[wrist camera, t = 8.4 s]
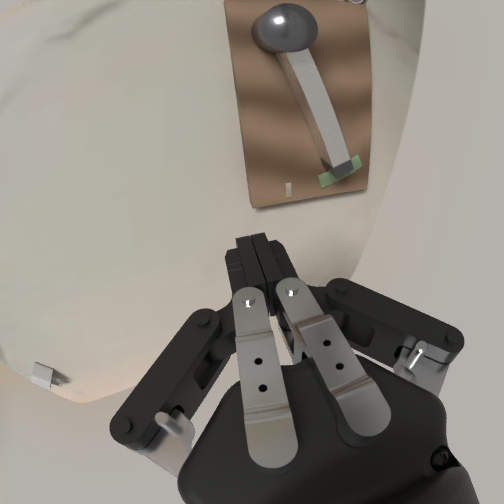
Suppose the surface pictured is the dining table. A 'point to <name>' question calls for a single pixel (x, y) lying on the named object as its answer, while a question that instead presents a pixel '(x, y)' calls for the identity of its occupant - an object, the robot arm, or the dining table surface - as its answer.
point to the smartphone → (354, 1)
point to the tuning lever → (304, 77)
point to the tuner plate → (288, 110)
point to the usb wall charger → (44, 376)
